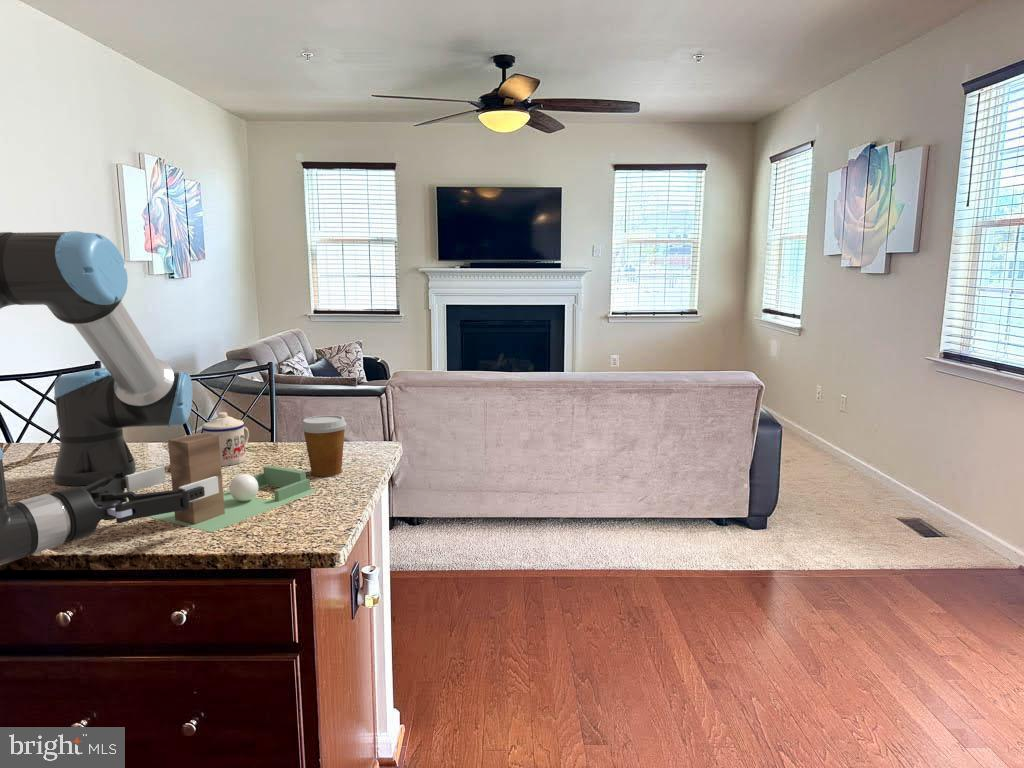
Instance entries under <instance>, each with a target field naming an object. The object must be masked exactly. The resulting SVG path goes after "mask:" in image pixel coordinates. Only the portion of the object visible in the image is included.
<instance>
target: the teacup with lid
mask: <svg viewBox="0 0 1024 768" xmlns="http://www.w3.org/2000/svg"><path fill="white" fill-rule="evenodd" d="M201 430H202V433H204V434H211V435H218V436H219V447H220V459H221V467H228V466H229V465H230V466H234V465H239V464H241V463H243V462H244V461H246V458H247V455H246V445H247V444H248V441H249V437H250V432H249V431H250V430H249V429H248V428H247V427H246V426H245V423H244V421H243V420H242V419H236V418H234V417H232V416H229V415H228V413H227V412H225V411H221V412H218V413H217V416H216V417H215V418H213V419H211V420H210V421H207V422H205V423H203V425H202V427H201Z"/></svg>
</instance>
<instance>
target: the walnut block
mask: <svg viewBox="0 0 1024 768" xmlns="http://www.w3.org/2000/svg"><path fill="white" fill-rule="evenodd" d="M167 444H168V456H169V467H170V468H169V469H170V477H171V487H172V488H171V489H172V490H179V487H181V486H184V485H188V484H191V483H194V482H197V481H201V480H204V479H207V478H210V477H214V476H216V477H218V486H219V493H217V494H214V495H211V496H208V497H205V498H202V499H199V500H196V501H193V502H190V508H189V509H187V510H185V511H182V510H180V511H175V520H177V521H181V522H185V523H190V524H194V525H195V524H198V523H201V522H204V521H206V520H209V519H212V518H214V517H217V516H220V515H223V514H225V510H224V497H223V492H224V488H223V474H222V466H221V459H220V447H219V436H218V435H211V434H204V433H203V432H197V433H192V434H188V435H183V436H181V437H175V438H171V439H167Z"/></svg>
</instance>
